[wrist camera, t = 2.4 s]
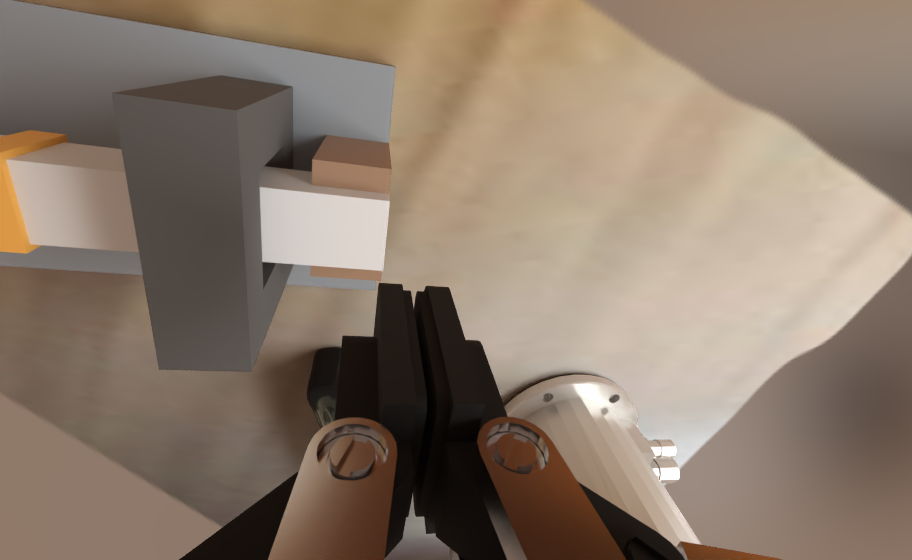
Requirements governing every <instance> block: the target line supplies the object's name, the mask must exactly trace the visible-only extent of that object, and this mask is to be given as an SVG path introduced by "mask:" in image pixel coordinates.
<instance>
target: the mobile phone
mask: <svg viewBox="0 0 912 560" xmlns="http://www.w3.org/2000/svg"><path fill="white" fill-rule="evenodd" d="M340 358H341V348H329V349H323V350H319V351H317V352H316V354H315V356H314V361H313V366H312V371H311V375H310V379H309V383H308V388H307V399H308V402H309V404H310V406H311V408H312V409H313V411H314V413H315V416H316V418H317V420H318V423H319V425H320V428H322V427H324V426H326V425H328V424H329V423H331V422H333V421H334V419H335V409H336V399H337V389H338V378H339V368H340Z"/></svg>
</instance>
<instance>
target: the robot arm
mask: <svg viewBox="0 0 912 560" xmlns="http://www.w3.org/2000/svg"><path fill="white" fill-rule="evenodd" d="M675 454H676V447H675V445H674V443H673V442H672V441H671V440H653V441H648V440H647V439H646V438H644V437H643V435H642V434H641V432H640V431H639V429H638V415H637V410H636V408H635V406H634V404H633V402H632V401H631V399H630V398H629V397H628V395H627V394H626V393H625V392H624V390H623V389H622V388H620V387H619V386H618V385H616V384H615V383H614V382H611V381H609V380H607V379H605V378H602V377H597V376H592V375H568V376H560V377H556V378H553V379H549V380H546V381H543V382H541V383H538V384H536V385H534V386H532V387H530V388H528V389H526V390H525V391H523V392H522V393H520V394H518V395H517V396H516V397H514V398H513V399H512V400H511V401H510V402H508V403H507V404H506V405H505V406H504V405H503V402H502V399H501V396H500V394H499V391H498V388H497V385H496V382H495V380H494V377H493V374H492V371H491V369H490V366H489V363H488V360H487V357H486V355H485V352H484V349H483V346H482V344H481V342H480V341H475V340H465V337H464V334H463V331H462V327H461V324H460V321H459V318H458V315H457V311H456V308H455V305H454V302H453V298H452V295H451V292H450V289H449V287H435V286H426V287H425V290H424V292H422V291H417V293H416V298H415V305H414V309H413V302H412V296H411V291H405V290H403V286H402V284H388V283H379V286H378V296H377V306H376V317H375V327H374V337H363V336H343V338H342V348H341V358H340V368H339V378H338V389H337V399H336V409H335V419H334V421H333V422H331V423H329V424H328V425H326V426H324V427H322V428H321V429H320V430H319V431H318V432H317V433H316V434H315V435H314V436H313V438H312V439H311V441H310V443H309V445H308V447H307V450H306V453H305V455H304V458H303V461H302V464H301V467H300V470H299V471H298V472H297V473H296V474H294V475H293V476H292V477H290V478H289V479H288V480H286V481H285V482H283V483H282V484H281V485H279V486H278V487H277V488H275V489H274V490H273V491H271V492H270V493H269V494H267V495H266V496H265V497H263V498H262V499H261V500H259V501H258V502H256V503H255V504H254V505H252V506H251V507H250V508H248V509H247V510H246V511H244V512H243V513H242V514H240V515H239V516H238V517H236V518H235V519H234V520H232V521H231V522H229V523H228V524H227V525H225V526H224V527H223V528H221V529H220V530H219V531H217V532H216V533H215V534H214V535H212V536H211V537H209V538H208V539H206V540H205V541H204V542H202V543H201V544H200V545H199V546H197V547H196V548H194V549H193V550H192V551H190V552H189V553H188V554H186V555H185V556H184V557H182V558H181V559H179V560H384V559H385V558H386V556H387V555H388V554H389V553H390V552H391V551H392V550H393V549H394V547H395V546H396V545H397V544H398V543H399V542H400V541H401V540H402V537H403V532H404V526H405V520H406V517H408V515H409V510H410V505H411V499H412V493H413V499H414V510H415V515H416V517H420V516H424V518H425V527H426V534H432V533H436V537H437V538H439V539H440V540H441V541H442V542H443V543H445V544H446V545H447V546H448V547H449V557H450V560H781V559H778V558H773V557H768V556H762V555H757V554H751V553H745V552H739V551H734V550H728V549H723V548H717V547H711V546H706V545H702V544H701V543H700V541H699V540H698V538H697V537H696V535H695V533H694V532H693V531H692V529H691V527H690V526H689V524H688V523H687V521H686V520H685V518H684V517H683V515H682V514H681V512H680V511H679V509H678V507H677V506H676V504H675V503H674V501H673V500H672V498H671V497H670V495H669V494H668V492H667V491H666V489H665V488H664V486H663V485H662V483H676V482H677V481H678V480H679V475H680V473H679V467H678V465H677V463H676V462H675V461H674V460H673V459H672V458H673V457H674V456H675ZM654 457H656V458H654Z"/></svg>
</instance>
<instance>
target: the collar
mask: <svg viewBox="0 0 912 560" xmlns="http://www.w3.org/2000/svg"><path fill="white" fill-rule="evenodd" d="M112 98H113V104H114V110H115V115H116V121H117V127H118V133H119V139H120V145H121V150H122V156H123V162H124V168H125V174H126V180H127V185H128V191H129V197H130V203H131V209H132V214H133V220H134V226H135V232H136V238H137V244H138V249H139V255H140V261H141V267H142V273H143V279H144V284H145V290H146V296H147V302H148V308H149V314H150V319H151V325H152V331H153V337H154V343H155V349H156V354H157V360H158V366H159V369H161V370H200V371H238V372H252V369H253V367H254V364H255V361H256V359H257V356H258V354H259V351H260V349H261V346H262V344H263V341H264V339H265V336H266V334H267V331H268V329H269V326H270V323H271V321H272V318H273V316H274V313H275V311H276V308H277V306H278V303H279V301H280V298H281V296H282V293H283V290H284V288H285V285H286V283H287V280H288V278H289V275H290V273H291V270H292V268H293V264H284V263H271V262H262V239H261V212H260V185H259V171H260V170H261V169H262V168H263V167H264V166H267V167H276V168H284V169H292V170H293V86H286V85H280V84H274V83H267V82H261V81H254V80H248V79H242V78H235V77H229V76H223V75H219V76H213V77H207V78H201V79H194V80H188V81H182V82H176V83H170V84H163V85H157V86H151V87H145V88H138V89H132V90H126V91H120V92H114V93H112Z"/></svg>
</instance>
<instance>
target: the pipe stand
mask: <svg viewBox="0 0 912 560" xmlns="http://www.w3.org/2000/svg"><path fill="white" fill-rule="evenodd" d="M395 68H396V67H395V66H391V65H385V64H379V63H374V62H368V61H362V60H357V59H351V58H345V57H339V56H334V55H328V54H322V53H316V52H311V51H305V50H299V49H293V48H288V47H282V46H276V45H270V44H265V43H259V42H253V41H248V40H242V39H236V38H230V37H225V36H219V35H213V34H207V33H202V32H196V31H190V30H184V29H179V28H173V27H167V26H161V25H156V24H150V23H144V22H139V21H133V20H127V19H121V18H116V17H110V16H104V15H98V14H93V13H87V12H81V11H75V10H70V9H64V8H58V7H52V6H47V5H41V4H35V3H30V2H24V1H18V0H0V266H12V267H27V268H42V269H57V270H72V271H87V272H102V273H118V274H133V275H143V273H142V267H141V261H140V255H139V249H138V244H137V238H136V232H135V226H134V220H133V214H132V209H131V203H130V197H129V191H128V185H127V180H126V174H125V168H124V162H123V156H122V150H121V145H120V139H119V133H118V127H117V121H116V115H115V110H114V104H113V98H112V93H114V92H120V91H126V90H132V89H138V88H145V87H151V86H157V85H163V84H170V83H176V82H182V81H188V80H194V79H201V78H207V77H213V76H219V75H223V76H229V77H235V78H242V79H248V80H254V81H261V82H267V83H274V84H280V85H286V86H293V170H292V169H284V168H276V167H267V166H264V167H263V168H262V169H261V170H260V171H259V185H260V212H261V239H262V262H271V263H284V264H293V268H292V270H291V273H290V275H289V278H288V280H287V283H286V285H299V286H314V287H329V288H344V289H360V290H375V289H376V281H381V274H382V271H383V266H384V255H385V245H386V235H387V224H388V214H389V204H390V198H389V191H390V180H391V170H392V169H391V160H390V151H389V134H390V123H391V112H392V101H393V90H394V79H395Z"/></svg>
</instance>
